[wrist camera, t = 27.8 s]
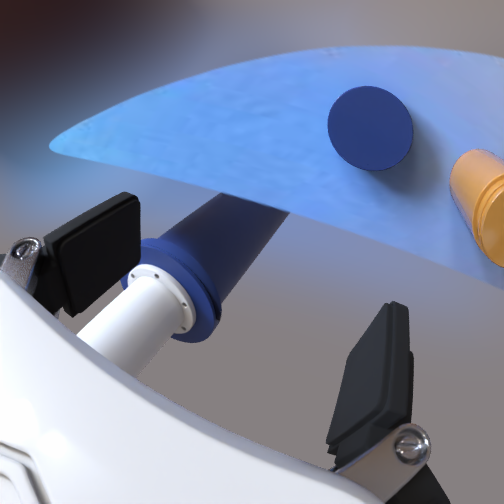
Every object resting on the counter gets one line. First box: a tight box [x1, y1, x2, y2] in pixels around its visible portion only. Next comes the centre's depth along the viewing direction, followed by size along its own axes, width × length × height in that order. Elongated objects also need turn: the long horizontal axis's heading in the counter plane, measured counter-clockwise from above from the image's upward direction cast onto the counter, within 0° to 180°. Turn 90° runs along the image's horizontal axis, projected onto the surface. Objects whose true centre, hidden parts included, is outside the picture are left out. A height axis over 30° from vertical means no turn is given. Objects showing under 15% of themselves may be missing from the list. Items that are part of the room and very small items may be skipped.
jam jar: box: [450, 149, 504, 268], centre depth 15 cm, size 6×6×9 cm
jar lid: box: [328, 86, 413, 171], centre depth 20 cm, size 7×7×2 cm
